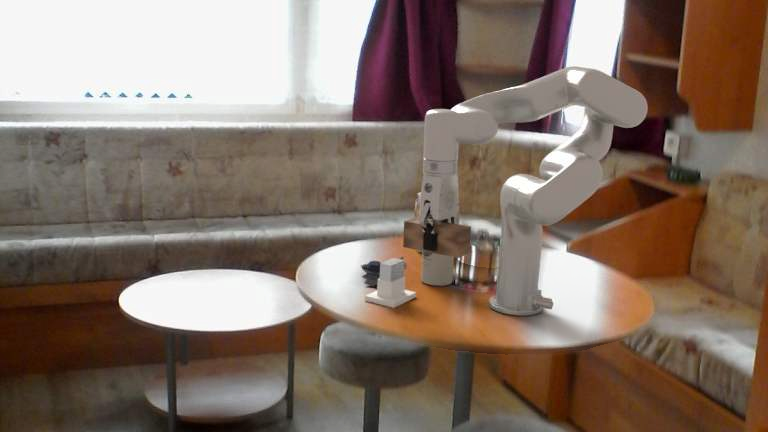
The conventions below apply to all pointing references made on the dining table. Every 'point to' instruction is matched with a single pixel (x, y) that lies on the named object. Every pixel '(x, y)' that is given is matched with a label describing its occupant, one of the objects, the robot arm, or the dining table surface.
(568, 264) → the dining table surface
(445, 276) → the travel mug
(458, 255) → the wooden block
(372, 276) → the decorative bat
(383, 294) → the fulcrum stand
